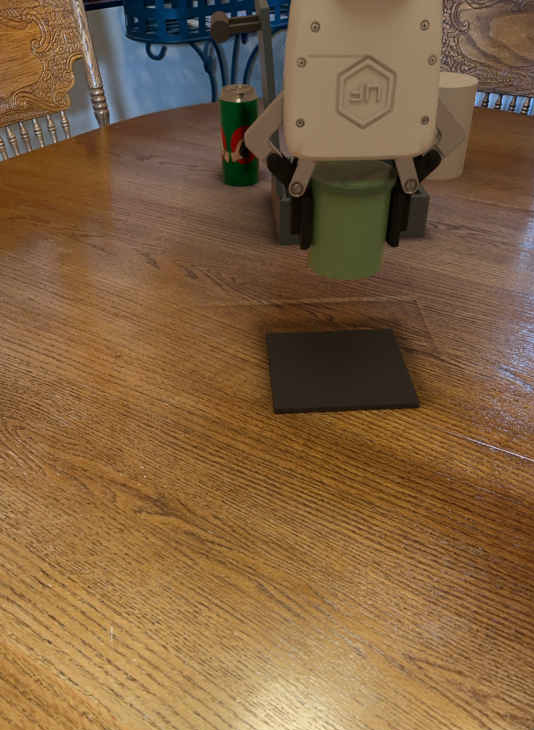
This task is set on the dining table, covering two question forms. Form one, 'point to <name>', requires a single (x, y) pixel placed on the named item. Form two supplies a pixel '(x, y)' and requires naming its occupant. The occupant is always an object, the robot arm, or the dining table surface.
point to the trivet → (338, 371)
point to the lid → (261, 24)
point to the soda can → (238, 134)
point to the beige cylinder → (460, 103)
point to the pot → (349, 217)
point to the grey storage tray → (413, 231)
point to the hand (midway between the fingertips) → (346, 239)
